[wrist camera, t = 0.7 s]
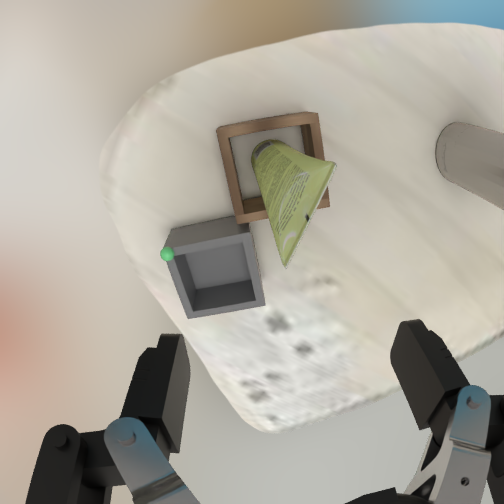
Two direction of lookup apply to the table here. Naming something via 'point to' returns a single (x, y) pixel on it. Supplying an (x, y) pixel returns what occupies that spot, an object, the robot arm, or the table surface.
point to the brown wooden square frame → (307, 120)
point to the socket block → (214, 267)
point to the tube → (289, 191)
